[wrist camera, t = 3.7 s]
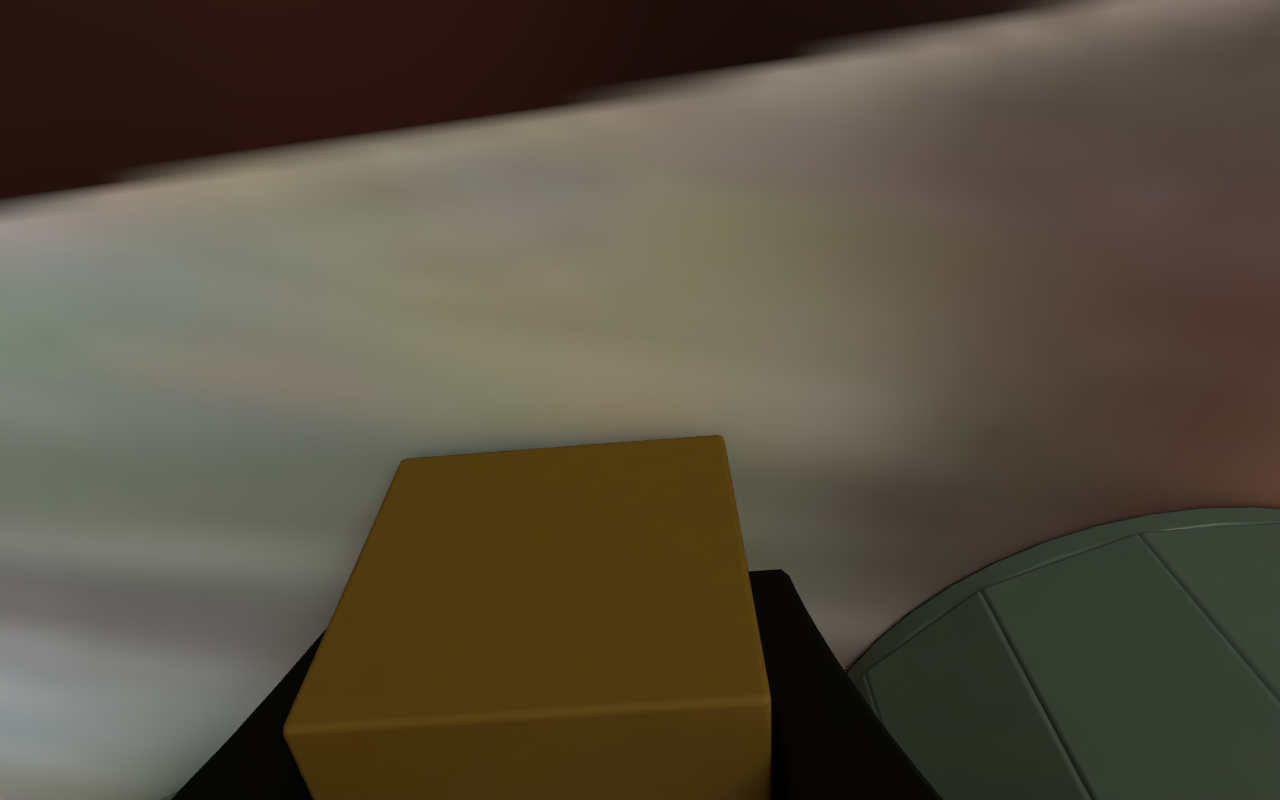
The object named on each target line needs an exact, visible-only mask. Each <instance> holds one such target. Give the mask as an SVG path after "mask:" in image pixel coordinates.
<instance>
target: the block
mask: <svg viewBox="0 0 1280 800" xmlns="http://www.w3.org/2000/svg"><path fill="white" fill-rule="evenodd" d="M283 735H284V737H285V740H286V742H287V744H288V746H289V748H290V751H291V753H292V755H293V757H294V759H295V762H296V764H297V766H298V768H299V770H300V773H301V775H302V777H303V779H304V781H305V783H306V786H307V788H308V790H309V792H310V794H311V797H312V799H313V800H772V735H771V695H770V689H769V683H768V678H767V672H766V667H765V661H764V656H763V650H762V645H761V639H760V634H759V628H758V623H757V617H756V612H755V606H754V600H753V595H752V589H751V584H750V578H749V573H748V567H747V562H746V556H745V551H744V545H743V540H742V534H741V529H740V523H739V517H738V512H737V506H736V501H735V495H734V490H733V484H732V479H731V473H730V468H729V462H728V457H727V451H726V446H725V441H724V439H723V437H722V436H720V435H712V436H699V437H685V438H672V439H659V440H646V441H633V442H620V443H606V444H593V445H580V446H567V447H554V448H541V449H527V450H514V451H501V452H488V453H475V454H462V455H448V456H435V457H422V458H409V459H404V460H402V461H401V463H400V465H399V467H398V469H397V472H396V474H395V476H394V478H393V481H392V483H391V485H390V487H389V490H388V492H387V494H386V496H385V499H384V501H383V503H382V505H381V508H380V510H379V512H378V514H377V517H376V519H375V521H374V523H373V526H372V528H371V530H370V532H369V535H368V537H367V539H366V541H365V544H364V546H363V548H362V550H361V553H360V555H359V557H358V559H357V562H356V564H355V566H354V568H353V571H352V573H351V575H350V577H349V580H348V582H347V584H346V586H345V589H344V591H343V593H342V595H341V598H340V600H339V602H338V604H337V607H336V609H335V611H334V613H333V616H332V618H331V620H330V622H329V625H328V627H327V629H326V631H325V634H324V636H323V638H322V640H321V643H320V645H319V647H318V649H317V652H316V654H315V656H314V658H313V661H312V663H311V665H310V667H309V670H308V672H307V674H306V676H305V679H304V681H303V683H302V686H301V688H300V690H299V692H298V695H297V697H296V699H295V701H294V704H293V706H292V708H291V710H290V713H289V715H288V717H287V719H286V722H285V724H284V728H283Z"/></svg>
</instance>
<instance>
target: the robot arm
mask: <svg viewBox="0 0 1280 800" xmlns="http://www.w3.org/2000/svg"><path fill="white" fill-rule="evenodd" d="M748 573H749V578H750V584H751V589H752V595H753V600H754V606H755V612H756V617H757V623H758V628H759V634H760V639H761V645H762V650H763V656H764V661H765V667H766V672H767V678H768V683H769V689H770V695H771V735H772V800H943V798H942V797H941V796H940V795H939V794H938V793H937V791H936V790H935V789H934V788H933V787H932V786H931V784H930V783H929V782H928V781H927V779H926V778H925V777H924V776H923V775H922V773H921V772H920V771H919V770H918V769H917V767H916V766H915V765H914V764H913V762H912V761H911V760H910V759H909V757H908V756H907V755H906V753H905V752H904V751H903V750H902V748H901V747H900V746H899V745H898V743H897V742H896V741H895V740H894V738H893V737H892V736H891V735H890V733H889V732H888V731H887V729H886V728H885V727H884V725H883V724H882V723H881V721H880V720H879V719H878V717H877V716H876V715H875V713H874V712H873V711H872V709H871V708H870V706H869V705H868V703H867V702H866V701H865V699H864V698H863V696H862V695H861V693H860V692H859V691H858V689H857V688H856V686H855V685H854V684H853V682H852V681H851V679H850V678H849V676H848V675H847V674H846V672H845V671H844V669H843V668H842V666H841V665H840V663H839V662H838V660H837V659H836V657H835V656H834V654H833V653H832V651H831V650H830V648H829V646H828V645H827V643H826V641H825V640H824V638H823V637H822V635H821V633H820V632H819V630H818V629H817V627H816V625H815V624H814V622H813V620H812V618H811V617H810V615H809V613H808V612H807V610H806V608H805V606H804V604H803V603H802V601H801V599H800V597H799V595H798V593H797V591H796V589H795V587H794V585H793V583H792V581H791V579H790V576H789V575H788V574H786V573H785V572H784V571H782V570H781V569H779V570H764V571H750V572H748ZM326 629H327V628H326ZM325 631H326V630H325ZM325 631H324V632H323V633H322V634H321V635H320V637H319V638H318V639H317V640H316V641H315V642H314V643H313V645H312V646H311V647H310V648H309V649H308V650H307V652H306V653H305V654H304V655H303V656H302V657H301V659H300V660H299V661H298V662H297V663H296V664H295V665H294V667H293V668H292V669H291V670H290V671H289V672H288V673H287V675H286V676H285V677H284V678H283V679H282V680H281V682H280V683H279V684H278V685H277V686H276V687H275V688H274V689H273V691H272V692H271V693H270V694H269V695H268V696H267V697H266V698H265V700H264V701H263V702H262V703H261V704H260V705H259V706H258V707H257V708H256V710H255V711H254V712H253V713H252V714H251V715H250V716H249V717H248V718H247V720H246V721H245V722H244V723H243V724H242V725H241V726H240V727H239V728H238V730H237V731H236V732H235V733H234V734H233V735H232V736H231V737H230V738H229V739H228V740H227V742H226V743H225V744H224V745H223V746H222V747H221V748H220V749H219V750H218V751H217V752H216V753H215V754H214V755H213V756H212V757H211V758H210V759H209V760H208V761H207V762H206V763H205V765H204V766H203V767H202V768H201V769H200V770H199V771H198V772H197V773H196V774H195V775H194V776H193V777H192V778H191V779H190V780H189V781H188V782H187V783H186V784H185V785H184V786H183V787H182V788H181V789H180V790H179V791H178V792H177V793H176V794H175V796H174V797H173V798H172V799H171V800H313V799H312V797H311V794H310V792H309V790H308V788H307V786H306V783H305V781H304V779H303V777H302V775H301V773H300V770H299V768H298V766H297V764H296V762H295V759H294V757H293V755H292V753H291V751H290V748H289V746H288V744H287V742H286V740H285V737H284V735H283V728H284V724H285V722H286V719H287V717H288V715H289V713H290V710H291V708H292V706H293V704H294V701H295V699H296V697H297V695H298V692H299V690H300V688H301V686H302V683H303V681H304V679H305V676H306V674H307V672H308V670H309V667H310V665H311V663H312V661H313V658H314V656H315V654H316V652H317V649H318V647H319V645H320V643H321V640H322V638H323V636H324V634H325Z"/></svg>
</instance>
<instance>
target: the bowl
mask: <svg viewBox="0 0 1280 800" xmlns="http://www.w3.org/2000/svg"><path fill="white" fill-rule="evenodd" d="M847 675H848V676H849V678H850V679H851V681H852V682H853V684H854V685H855V686H856V688H857V689H858V691H859V692H860V693H861V695H862V696H863V698H864V699H865V701H866V702H867V703H868V705H869V706H870V708H871V709H872V711H873V712H874V713H875V715H876V716H877V717H878V719H879V720H880V721H881V723H882V724H883V725H884V727H885V728H886V729H887V731H888V732H889V733H890V735H891V736H892V737H893V738H894V740H895V741H896V742H897V743H898V745H899V746H900V747H901V748H902V750H903V751H904V752H905V753H906V755H907V756H908V757H909V759H910V760H911V761H912V762H913V764H914V765H915V766H916V767H917V769H918V770H919V771H920V772H921V773H922V775H923V776H924V777H925V778H926V779H927V781H928V782H929V783H930V784H931V786H932V787H933V788H934V789H935V790H936V791H937V793H938V794H939V795H940V796H941V797H942V798H943V800H1280V509H1271V508H1260V507H1229V508H1199V509H1190V510H1182V511H1174V512H1165V513H1157V514H1149V515H1144V516H1140V517H1135V518H1130V519H1126V520H1121V521H1117V522H1112V523H1107V524H1103V525H1098V526H1094V527H1091V528H1088V529H1085V530H1082V531H1078V532H1075V533H1072V534H1069V535H1066V536H1062V537H1059V538H1056V539H1053V540H1050V541H1046V542H1044V543H1041V544H1039V545H1036V546H1034V547H1032V548H1029V549H1027V550H1024V551H1022V552H1019V553H1017V554H1015V555H1012V556H1010V557H1007V558H1005V559H1003V560H1000V561H998V562H995V563H994V564H992V565H990V566H988V567H986V568H984V569H982V570H980V571H978V572H977V573H975V574H973V575H971V576H969V577H967V578H965V579H963V580H961V581H960V582H958V583H956V584H954V585H952V586H950V587H949V588H947V589H946V590H944V591H943V592H941V593H940V594H938V595H937V596H935V597H934V598H932V599H931V600H929V601H928V602H926V603H925V604H923V605H922V606H920V607H919V608H917V609H916V610H914V611H912V612H911V613H910V614H909V615H907V616H906V617H905V618H904V619H903V620H901V621H900V622H899V623H898V624H897V625H895V626H894V627H893V628H892V629H890V630H889V631H888V632H887V633H886V634H884V635H883V636H882V637H881V638H880V639H878V640H877V641H876V642H875V643H874V644H873V645H872V647H871V648H870V649H869V650H868V651H867V652H866V653H865V654H864V655H863V656H862V657H861V658H860V659H859V660H858V661H857V662H856V663H855V664H854V665H853V666H852V667H851V668H850V670H849V671H848V672H847Z"/></svg>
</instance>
